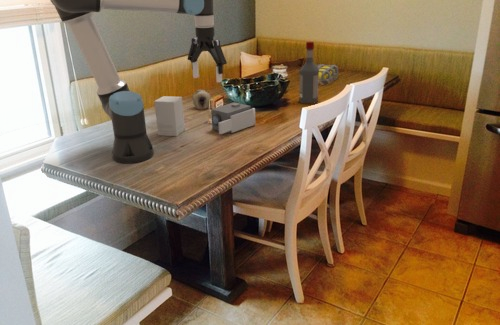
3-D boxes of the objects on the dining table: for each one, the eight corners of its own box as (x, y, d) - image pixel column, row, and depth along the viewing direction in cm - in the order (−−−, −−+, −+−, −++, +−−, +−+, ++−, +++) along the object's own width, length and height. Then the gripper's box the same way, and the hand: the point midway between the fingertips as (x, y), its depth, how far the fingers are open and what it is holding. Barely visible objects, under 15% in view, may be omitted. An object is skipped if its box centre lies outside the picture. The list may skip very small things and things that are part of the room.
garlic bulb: (194, 112, 228) (187, 93, 225) (208, 106, 232) (201, 88, 230) (202, 110, 220) (195, 91, 217) (216, 104, 224) (209, 85, 222)
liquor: (318, 99, 235) (320, 40, 223) (316, 104, 227) (318, 43, 215) (301, 98, 237) (302, 40, 225) (298, 103, 229) (299, 43, 217)
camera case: (226, 134, 187) (225, 112, 184) (210, 129, 194) (208, 107, 190) (251, 125, 198) (250, 104, 194) (234, 121, 204) (234, 100, 200)
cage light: (341, 64, 282) (327, 73, 258) (340, 76, 286) (326, 87, 261) (318, 62, 288) (303, 71, 264) (318, 75, 292) (303, 85, 267)
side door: (221, 137, 183) (220, 120, 180) (218, 136, 184) (217, 119, 181) (255, 124, 198) (255, 108, 195) (253, 123, 198) (253, 107, 196)
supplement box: (185, 129, 195) (182, 96, 189) (177, 136, 187) (173, 101, 181) (166, 128, 197) (163, 95, 191) (157, 135, 189) (153, 100, 183)
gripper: (234, 27, 173) (235, 81, 181) (190, 24, 188) (193, 74, 196) (220, 29, 167) (223, 85, 176) (176, 25, 182) (180, 77, 190)
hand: (207, 79), depth 186 cm, fingers open, 13 cm apart
